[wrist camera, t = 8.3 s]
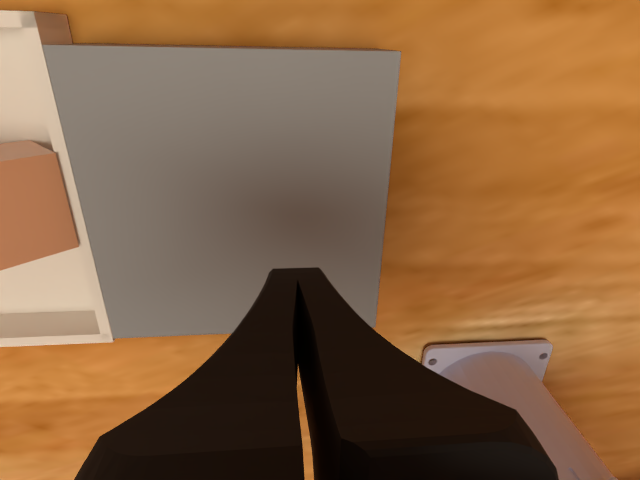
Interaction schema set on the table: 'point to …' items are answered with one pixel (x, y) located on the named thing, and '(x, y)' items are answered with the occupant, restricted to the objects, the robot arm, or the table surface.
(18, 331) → the tray
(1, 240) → the orange brown block
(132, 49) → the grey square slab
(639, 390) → the table surface
